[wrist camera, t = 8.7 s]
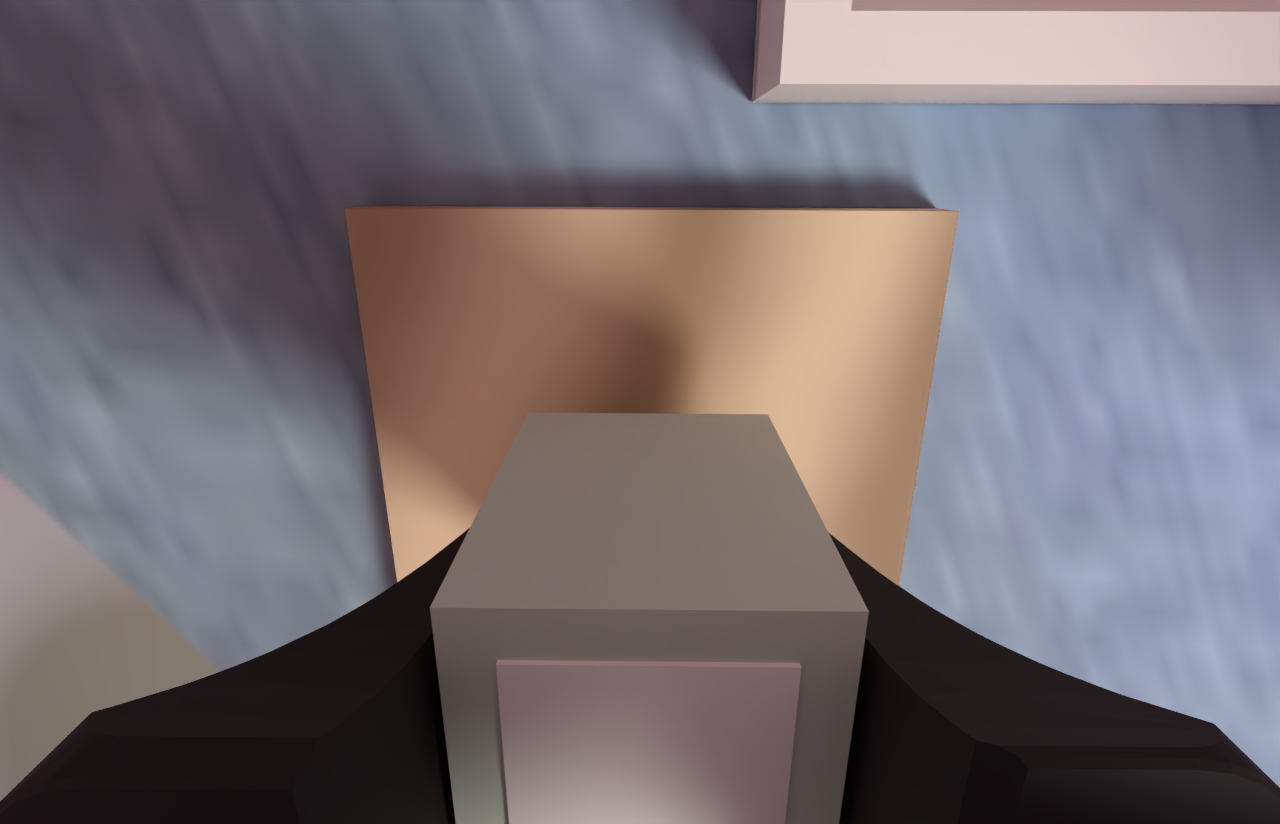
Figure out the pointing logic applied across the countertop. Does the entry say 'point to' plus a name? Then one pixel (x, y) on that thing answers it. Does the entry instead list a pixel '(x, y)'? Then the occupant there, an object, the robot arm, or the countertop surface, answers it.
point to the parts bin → (1017, 51)
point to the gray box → (648, 631)
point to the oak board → (650, 343)
